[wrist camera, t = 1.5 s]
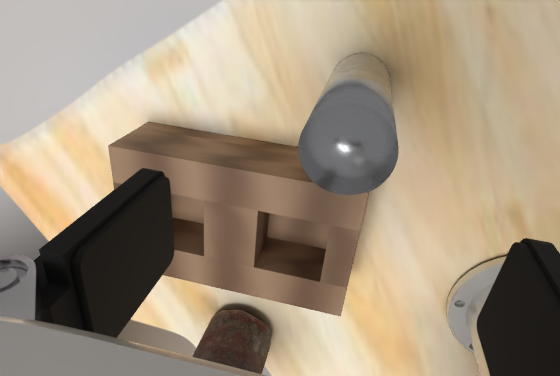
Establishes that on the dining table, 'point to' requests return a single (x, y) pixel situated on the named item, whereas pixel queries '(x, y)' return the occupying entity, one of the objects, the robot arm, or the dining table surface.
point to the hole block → (248, 215)
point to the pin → (351, 129)
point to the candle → (235, 341)
